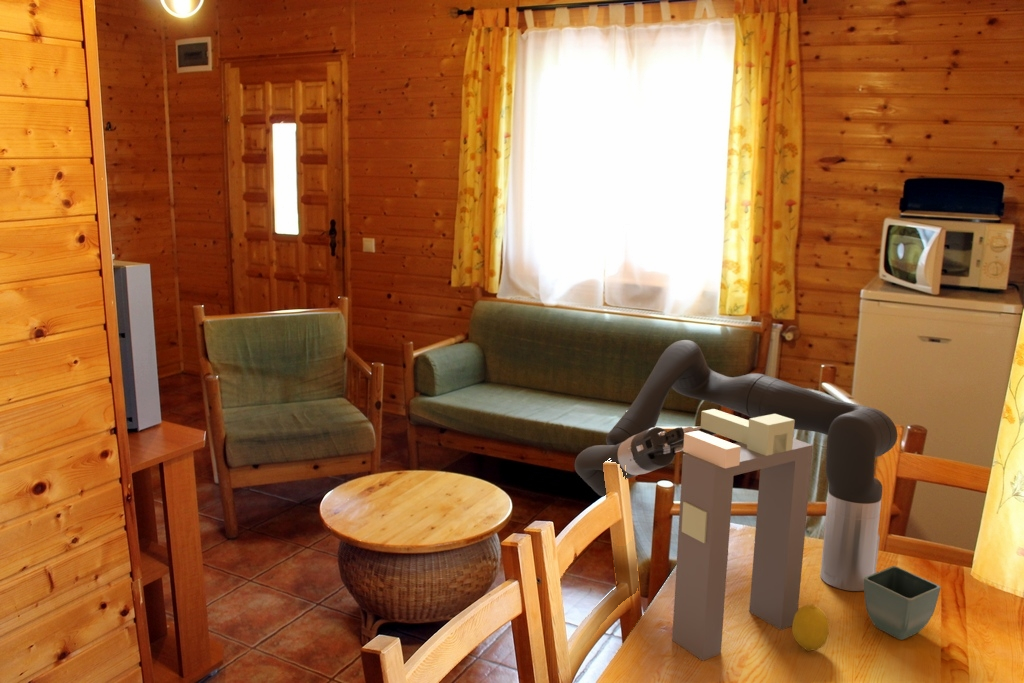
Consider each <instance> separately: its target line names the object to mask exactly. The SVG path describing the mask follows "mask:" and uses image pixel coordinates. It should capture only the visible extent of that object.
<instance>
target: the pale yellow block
mask: <svg viewBox="0 0 1024 683" xmlns="http://www.w3.org/2000/svg"><path fill="white" fill-rule="evenodd" d="M700 412H701V416H700V426H701V428H702V429H705V430H708V431H711V432H713V433H716V434H715V435H718V436H722V437H724V438H728V439H730V440H733V441H736V442H737V443H738V442H741V443H743V444H746V445H747V449H749V450H752V451H755V452H757V453H760V454H763V455H765V456H768V455H772V454H776V453H781V452H785V451H789V450H792V446H793V438H794V434H795V432H794V431H795V429H794V423H795V420H794V419H791V418H787V417H784V416H781V415H778V414H771V415H765V416H760V417H755V418H751V417H749V419H745V418H743V417H740V416H736V415H734V414H731V413H727V412H725V411H722V410H720V409H719V410H718V409H715V408H711V409H707V410H702V411H700Z"/></svg>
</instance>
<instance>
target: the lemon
mask: <svg viewBox="0 0 1024 683" xmlns="http://www.w3.org/2000/svg"><path fill="white" fill-rule="evenodd" d="M791 628H792V629H791V630H792V635H793V637H794V640H795V641H796V643H797V644H798V645H799V646H801V648H803V649H805V650H806V651H808V652H811V651H812V650H813V651H815V650H818V649H821V648H822V647H823V646H824V645H825V644H826V643H827V640H828V638H829V634H830V624H829V620H828V617H827V615H826V613H825V612H824V611H823V609H821V608H820V607H818V606H816V605H815V604H808V605H807V604H806V605H803V606H801V607H799V608H798V611H797V612H796V614H795V616H794V619H793V625H792V626H791Z"/></svg>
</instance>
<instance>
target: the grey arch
mask: <svg viewBox="0 0 1024 683" xmlns="http://www.w3.org/2000/svg"><path fill="white" fill-rule="evenodd" d="M733 444H736V445H739V446H741V449H740V463H739V465H738V466H734V467H730V468H722V467H720V466H718V465H715V464H713V463H710V462H708V461H705V460H703V459H700V458H698V457H696V456H693V455H691V454H688V453H686V452H685V453H683V454H682V466H681V481H680V482H681V483H680V499H679V500H680V501H679V515H678V516H679V517H678V529H677V530H678V534H677V551H676V567H675V568H676V569H675V587H674V602H673V617H672V618H673V620H672V621H673V622H672V633H671V635H672V637H671V638H672V639H671V641H673V642H675V643H676V644H678V645H679V646H680V647H682V648H683V649H685V650H686V651H687V652H689V653H690V654H692V655H693V656H695V657H696V658H698V659H699V660H701V661H702V662H704V661H707V660H708V659H711V658H714V657H716V656H719V655H722V654H721V653H722V646H723V645H722V644H723V642H722V641H723V629H724V615H725V600H726V599H725V598H726V588H727V587H726V586H727V571H728V557H729V546H730V545H729V543H730V529H731V517H732V516H731V514H732V503H733V502H732V500H733V488H734V476H738V475H741V474H746V473H750V472H755V471H759V470H760V471H759V481H758V496H757V504H756V505H757V507H756V518H755V532H754V543H753V544H754V546H753V559H752V572H751V573H752V574H751V582H750V583H751V585H750V597H749V598H750V599H749V607H748V608H749V609H748V611H749V613H751V614H752V615H754V616H756V617H758V618H759V619H761V620H762V621H765V622H766V623H768V624H769V625H771V626H772V627H775V628H776V629H778V630H780V631H782V630H784V629H787V628H790V627H792V625H793V619H794V616H795V614H796V612H797V611H798V610H799V602H800V592H801V591H800V590H801V582H802V571H803V557H804V550H805V549H804V548H805V537H806V526H807V515H808V505H809V504H808V502H809V493H810V481H811V470H812V469H811V468H812V461H813V460H812V458H813V448H814V445H813V444H811V443H808V442H805V441H803V440H800V439H797V438H794V437H793V446H792V450H789V451H785V452H781V453H776V454H772V455H768V456H765V455H763V454H760V453H757V452H755V451H752V450H749V449H747V445H746V444H743V443H741V442H738V441H737V442H733Z"/></svg>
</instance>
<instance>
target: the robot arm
mask: <svg viewBox="0 0 1024 683" xmlns="http://www.w3.org/2000/svg"><path fill="white" fill-rule="evenodd" d="M671 389H672V390H673V391H675V393H678V394H680V395H681V396H682V395H683V396H685V397H687V398H688V397H689V398H692V399H695V400H696V399H697V400H701V401H705V402H708V403H712V404H715V405H718V406H721V407H723V408H726V409H728V410H730V411H731V410H732V411H735V412H737V413H739V414H742V415H744V416H747V417H749V418H755V417H760V416H765V415H771V414H778V415H781V416H784V417H787V418H791V419H794V420H795V423H794V430H799V431H805V432H806V431H807V432H816V433H820V434H823V435H827V437H826V438H827V439H826V451H825V453H826V454H825V476H826V480H827V482H828V490H827V491H828V492H827V499H826V502H827V503H826V511H825V522H824V523H825V524H824V533H823V543H822V544H823V545H822V555H821V563H820V564H821V566H820V575H819V576H820V578H821V580H822V581H823V582H824V583H826V584H827V585H830V586H831V587H834V588H837V589H840V590H844V591H851V592H861V591H863V592H864V578H865V577H866V576H869V575H872V574H874V573H877V564H878V556H879V549H880V548H879V546H880V540H881V539H880V537H881V536H880V533H879V525H880V518H881V507H882V506H881V505H882V498H883V484H882V483H881V481H880V480H879V479H877V478H876V477H875V463H876V459H877V458H878V457H881V456H883V455H885V454H886V453H888V452H890V450H892V448H894V446H895V445H896V443H897V440H898V430H897V427H896V424H895V423H894V421H893V419H891V418H890V417H889V416H888V415H887V414H886V413H885V412H883V411H881V410H879V409H877V408H874V407H870V406H865V405H862V404H861V405H860V404H857V403H852V402H848V401H842V400H837V399H835V398H832V397H828V396H825V395H822V394H819V393H817V392H815V391H812V390H809V389H807V388H803V387H801V386H797V385H795V384H793V383H789V382H787V381H785V380H781V379H779V378H776V377H773V376H771V375H767V374H764V373H747V374H745V375H744V374H743V375H739V376H736V377H732V376H727V375H724V374H722V373H719V372H716V371H714V370H712V369H711V368H710V367H709V366H708V363H707V361H706V359H705V356H704V354H703V351H702V349H701V348H700V346H699V345H698V343H696V342H695V341H693V340H689V339H683V340H682V339H681V340H678V341H675V342H673V343H671V344H670V345H669V346H668V347H666V349H665V350H664V351H663V352H662V354H661V355H660V356H659V358H658V360H657V362H656V364H655V365H654V368H653V369H652V371H651V373H650V374H649V376H648V377H647V379H646V381H645V383H644V384H643V386H642V387H641V389H640V391H639V393H638V395H637V396H636V398H635V399H634V401H633V402H632V403H631V405H630V406H629V408H628V409H627V411H626V412H625V413H624V414H623V415H622V416H621V417H620V418H619V420H618V422H616V423H615V425H614V426H613V427H612V428H611V430H610V431H609V432H608V433H607V435H606V437H605V441H606V445H605V444H600V445H599V444H598V445H592V446H589V447H586V448H585V449H584V450H582V451H581V452H580V453H578V454H577V456H576V458H575V460H574V470H575V473H577V475H578V476H580V478H582V480H583V481H584V483H586V484H587V485H588V486H589V487H591V489H592V490H593V491H594V492H595V493H596V494H597V495H598V496H600V497H604V496H605V495H606V488H605V481H604V472H603V463H604V462H605V461H607V460H608V459H609V458H611V459H610V460H612V461H611V462H616V463H617V464H620V468H621V469H622V472H623V477H624V476H625V480H628V479H631V478H634V477H636V476H638V475H644V474H648V473H651V472H653V471H656V470H658V469H662V468H664V467H667V466H669V465H671V464H672V463H673V461H674V459H675V457H676V454H677V453H678V452H683V447H684V433H688V432H693V431H701V432H704V433H706V434H709V435H712V436H714V437H715V435H717V434H716V433H713V432H711V431H708V430H705V429H702V428H701V425H699V426H697V427H692V426H687V427H684V428H683V427H682V426H679V427H676V428H673V429H671V430H668V431H667V430H666V429H664V428H662V427H657V423H658V421H659V417H660V415H661V411H662V409H663V406H664V404H665V401H666V398H667V396H668V394H669V392H670V390H671ZM610 460H608V461H610ZM625 465H626V471H625ZM626 473H627V475H626ZM626 478H627V479H626Z"/></svg>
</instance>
